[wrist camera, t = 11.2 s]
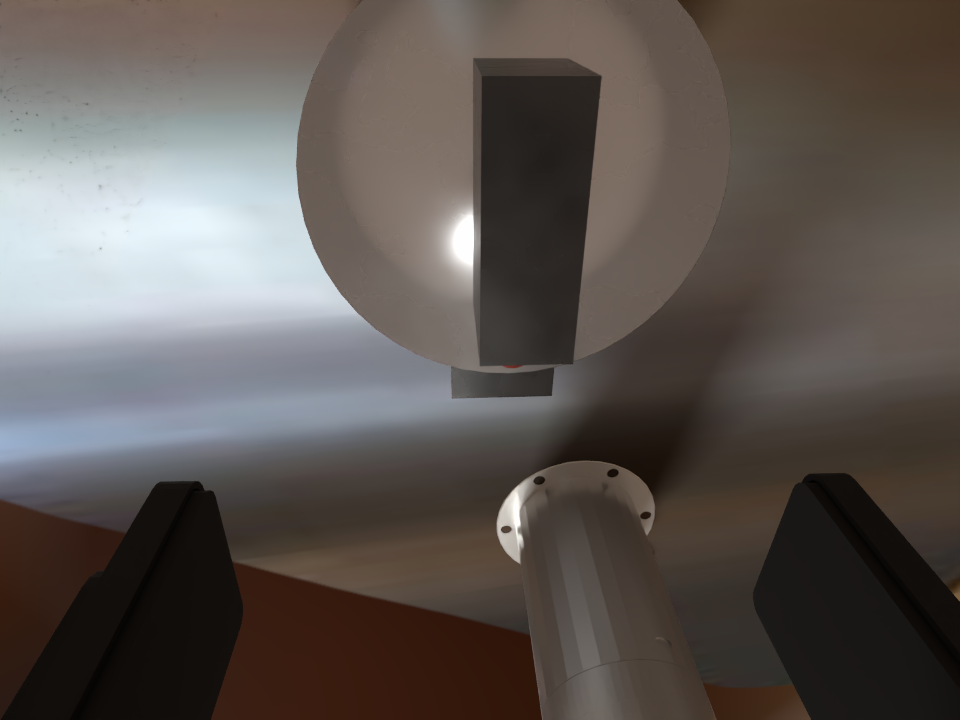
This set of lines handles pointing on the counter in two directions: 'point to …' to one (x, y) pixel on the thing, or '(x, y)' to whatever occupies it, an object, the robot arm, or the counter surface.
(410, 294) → the lid
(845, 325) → the counter surface
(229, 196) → the counter surface
